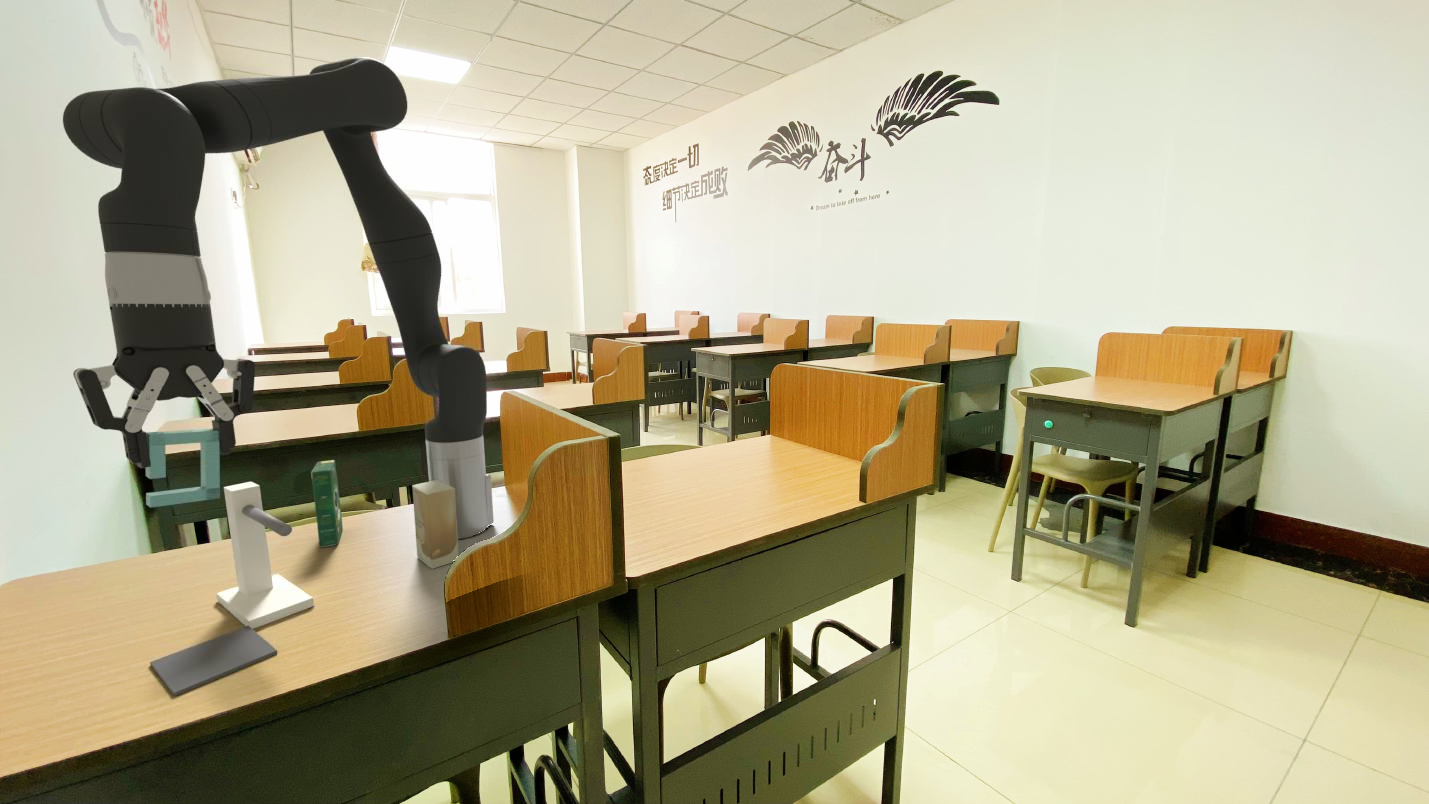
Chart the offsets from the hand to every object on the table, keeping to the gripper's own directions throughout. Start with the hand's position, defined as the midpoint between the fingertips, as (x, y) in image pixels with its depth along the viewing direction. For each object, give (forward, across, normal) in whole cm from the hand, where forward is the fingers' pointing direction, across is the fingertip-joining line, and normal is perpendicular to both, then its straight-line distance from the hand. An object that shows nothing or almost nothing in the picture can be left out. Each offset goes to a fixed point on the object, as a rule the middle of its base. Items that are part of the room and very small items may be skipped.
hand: (184, 459), depth 61 cm
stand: (+24, -8, -8) cm, 26 cm away
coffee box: (+24, -23, -27) cm, 43 cm away
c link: (+5, +1, 0) cm, 5 cm away
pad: (+24, 0, 0) cm, 24 cm away
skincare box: (+24, -29, -4) cm, 38 cm away
